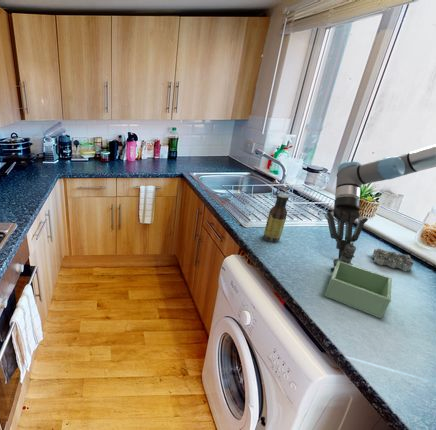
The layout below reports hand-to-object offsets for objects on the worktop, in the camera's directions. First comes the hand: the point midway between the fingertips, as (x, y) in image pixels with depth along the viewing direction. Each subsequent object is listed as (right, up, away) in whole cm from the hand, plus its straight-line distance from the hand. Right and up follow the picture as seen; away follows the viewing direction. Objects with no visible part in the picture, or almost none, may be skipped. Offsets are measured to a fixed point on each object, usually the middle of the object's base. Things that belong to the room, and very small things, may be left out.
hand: (342, 258), depth 103 cm
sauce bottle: (-16, +5, +18) cm, 25 cm away
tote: (-7, -10, -14) cm, 18 cm away
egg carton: (+20, -3, +3) cm, 21 cm away
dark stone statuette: (-3, -5, -2) cm, 6 cm away
